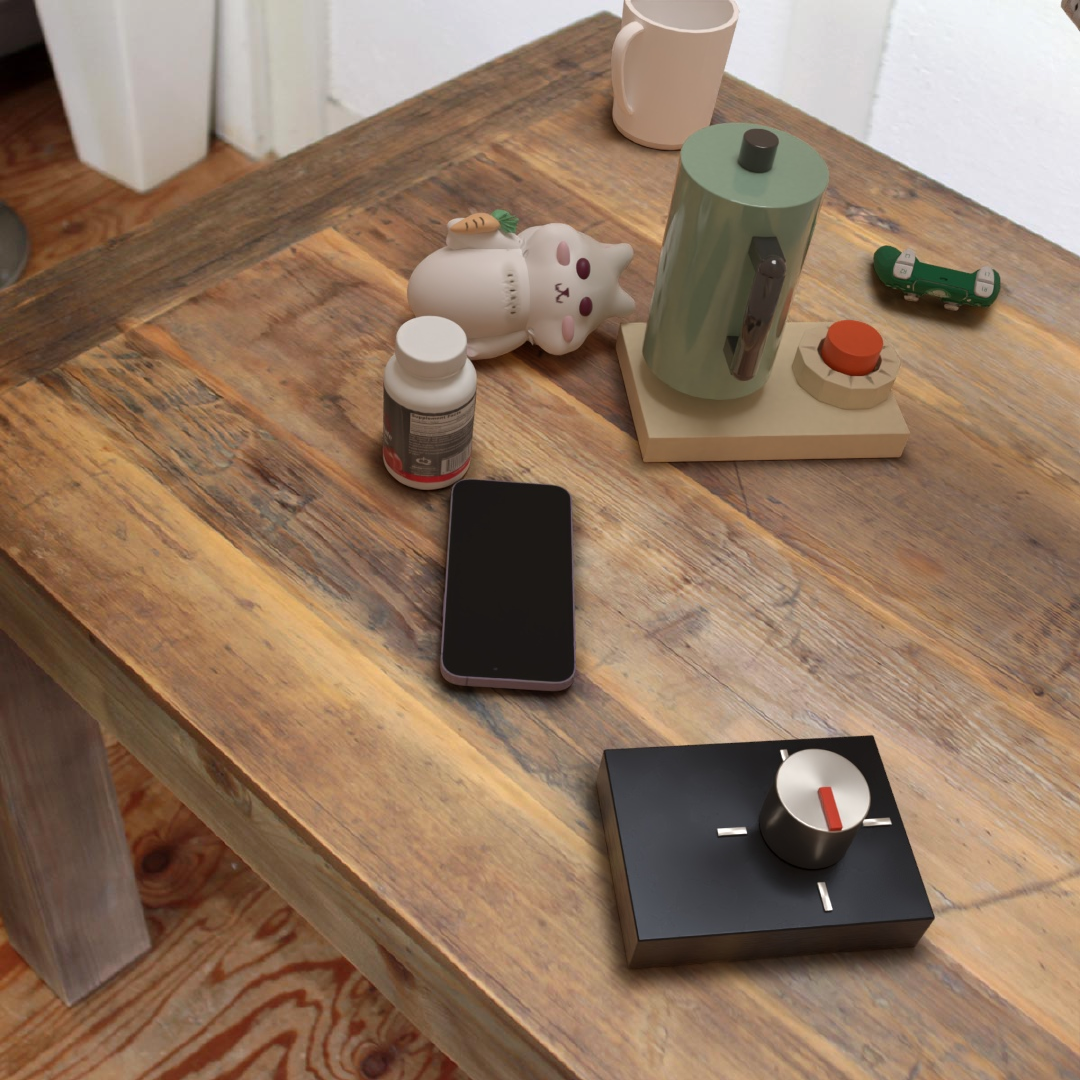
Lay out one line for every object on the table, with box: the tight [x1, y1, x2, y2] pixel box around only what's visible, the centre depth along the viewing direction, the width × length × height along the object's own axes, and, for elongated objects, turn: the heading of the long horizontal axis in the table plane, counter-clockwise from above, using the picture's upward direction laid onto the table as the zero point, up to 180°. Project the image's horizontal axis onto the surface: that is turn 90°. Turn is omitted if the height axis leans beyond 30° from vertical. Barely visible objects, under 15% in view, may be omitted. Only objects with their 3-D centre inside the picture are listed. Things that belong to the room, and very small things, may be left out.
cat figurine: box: [406, 208, 637, 361], centre depth 88 cm, size 10×8×15 cm
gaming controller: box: [872, 244, 1002, 311], centre depth 97 cm, size 9×4×6 cm
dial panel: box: [595, 734, 936, 970], centre depth 64 cm, size 14×10×3 cm
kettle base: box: [615, 321, 911, 463], centre depth 87 cm, size 17×11×4 cm, turn 97°
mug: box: [610, 0, 741, 151], centre depth 106 cm, size 11×9×10 cm
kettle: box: [642, 122, 830, 400], centre depth 79 cm, size 8×14×16 cm, turn 7°
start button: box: [821, 319, 883, 376], centre depth 86 cm, size 4×4×2 cm
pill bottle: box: [382, 316, 478, 491], centre depth 78 cm, size 5×5×10 cm
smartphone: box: [439, 478, 577, 692], centre depth 75 cm, size 7×1×15 cm
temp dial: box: [759, 749, 871, 869], centre depth 62 cm, size 4×4×4 cm
